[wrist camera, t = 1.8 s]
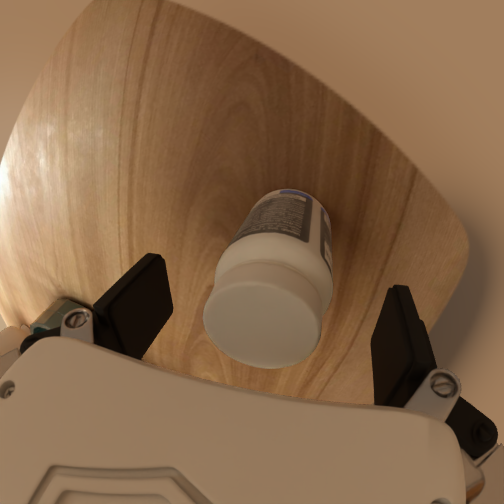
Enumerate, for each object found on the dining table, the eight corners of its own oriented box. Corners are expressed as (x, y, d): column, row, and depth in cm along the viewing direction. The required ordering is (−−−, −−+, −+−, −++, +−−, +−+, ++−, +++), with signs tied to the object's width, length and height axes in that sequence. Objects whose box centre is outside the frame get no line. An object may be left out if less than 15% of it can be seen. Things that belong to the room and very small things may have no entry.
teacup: (68, 379, 41) (42, 415, 32) (17, 332, 40) (-11, 362, 31) (65, 353, 34) (30, 397, 26) (7, 297, 33) (-28, 332, 25)
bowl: (41, 281, 26) (14, 305, 22) (130, 319, 24) (101, 356, 20) (75, 357, 34) (57, 380, 29) (154, 395, 31) (137, 425, 27)
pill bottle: (235, 231, 17) (170, 328, 10) (280, 170, 15) (234, 240, 7) (297, 276, 18) (273, 389, 10) (348, 223, 15) (363, 331, 8)
